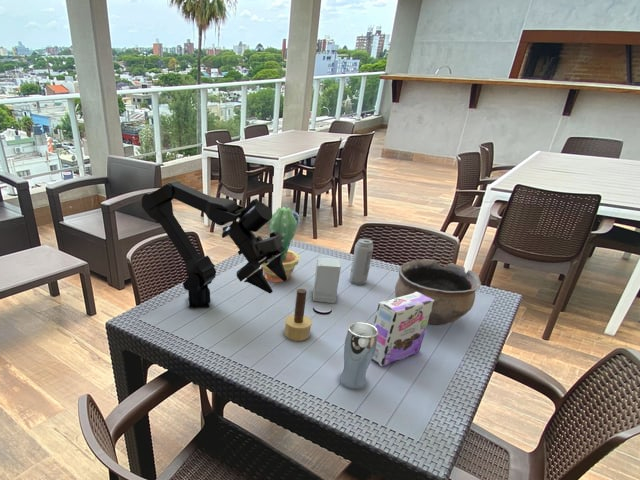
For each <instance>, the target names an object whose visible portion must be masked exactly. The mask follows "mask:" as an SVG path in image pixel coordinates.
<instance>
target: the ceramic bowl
mask: <svg viewBox="0 0 640 480" xmlns="http://www.w3.org/2000/svg"><path fill="white" fill-rule="evenodd" d="M465 268H466V267H464V266H463V265H460V264H456V263H453V262H449V263H448V264H447V265H445V266H442V265H440V264H439V262H437V260H436V259H428V258H427V259H426V258H422V259H421V258H420V259H416V260H415V259H414V260H412V261H407V262H404V263H403V264H401V265H400V266H399V267H398V276H399V277H398V279H397V281H396V283H395V287H394V298H398V297H401V296H405V295H408V294H412V293H415V292H419V293H421V294H423V295H425V296H427V297H429V298H431V299H433V300H434V304H433V307H432V310H431V314H430V317H429V321H428V324H427V326H443V325H447V324H451V323H454V322H455V321H458V320H459V319H461V318H462V317H463V316H465V315H466V314H468V313H469V312H470V311H471V310H472V308H473V306H474V303H475V301H476V291H477V290H478V289H479V288H480V287H481V284H482V282H481V278H480V276H479V275H478V274H477V273H476V272H474V271H473V270H470V269H468V270H467V271H466V269H465Z"/></svg>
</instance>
